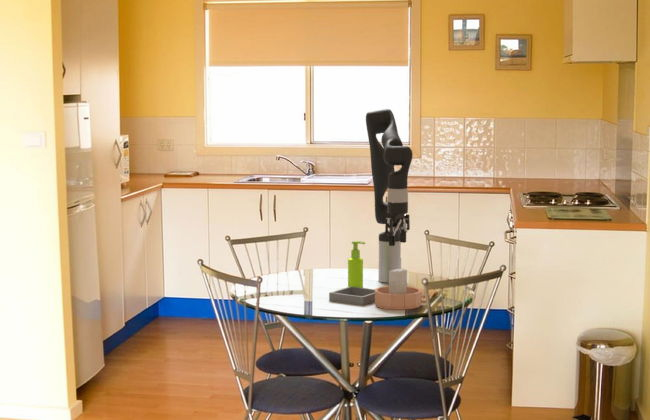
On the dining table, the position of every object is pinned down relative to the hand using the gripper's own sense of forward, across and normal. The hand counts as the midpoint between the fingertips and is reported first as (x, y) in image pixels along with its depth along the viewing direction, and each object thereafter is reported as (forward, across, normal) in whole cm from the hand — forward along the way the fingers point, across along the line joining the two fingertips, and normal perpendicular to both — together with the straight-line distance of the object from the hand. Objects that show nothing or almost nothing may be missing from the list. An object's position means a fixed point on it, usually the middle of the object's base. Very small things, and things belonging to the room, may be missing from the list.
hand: (397, 244), depth 346 cm
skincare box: (+22, +2, +1) cm, 22 cm away
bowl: (+22, +2, +1) cm, 23 cm away
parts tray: (+22, +2, -17) cm, 28 cm away
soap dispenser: (+23, -11, -25) cm, 35 cm away
